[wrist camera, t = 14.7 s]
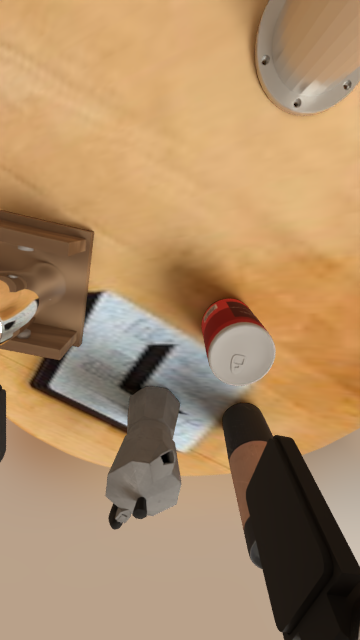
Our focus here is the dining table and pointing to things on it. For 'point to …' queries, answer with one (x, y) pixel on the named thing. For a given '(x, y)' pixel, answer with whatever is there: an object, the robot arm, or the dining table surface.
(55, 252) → the holder
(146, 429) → the coffeepot
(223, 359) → the canned food
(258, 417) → the travel mug
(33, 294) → the beer glass
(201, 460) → the dining table surface
